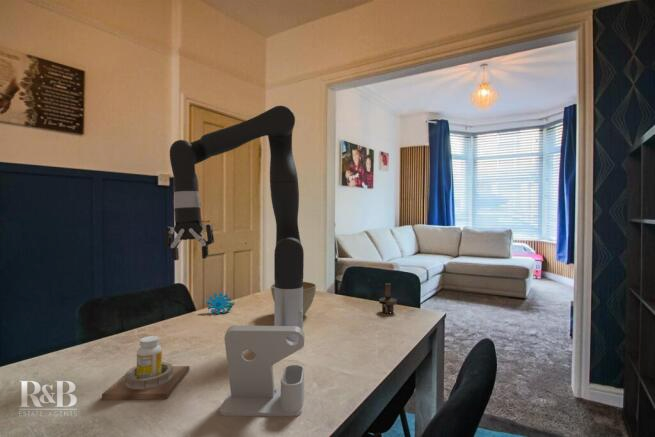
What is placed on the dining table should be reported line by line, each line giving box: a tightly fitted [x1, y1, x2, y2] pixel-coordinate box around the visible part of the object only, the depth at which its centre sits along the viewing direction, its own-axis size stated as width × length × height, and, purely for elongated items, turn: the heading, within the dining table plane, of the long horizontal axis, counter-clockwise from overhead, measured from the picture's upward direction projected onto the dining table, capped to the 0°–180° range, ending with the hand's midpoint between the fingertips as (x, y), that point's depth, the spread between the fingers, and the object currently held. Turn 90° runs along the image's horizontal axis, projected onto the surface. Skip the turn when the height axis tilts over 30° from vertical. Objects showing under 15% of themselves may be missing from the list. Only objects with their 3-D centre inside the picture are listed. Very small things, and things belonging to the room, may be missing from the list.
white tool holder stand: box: [219, 325, 306, 417], centre depth 76 cm, size 17×10×18 cm, turn 90°
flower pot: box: [270, 281, 317, 316], centre depth 142 cm, size 18×18×12 cm
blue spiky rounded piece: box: [206, 291, 235, 316], centre depth 147 cm, size 11×6×10 cm
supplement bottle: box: [136, 335, 163, 378], centre depth 84 cm, size 5×5×10 cm
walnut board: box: [101, 361, 190, 401], centre depth 84 cm, size 14×14×3 cm
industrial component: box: [378, 282, 398, 314], centre depth 147 cm, size 9×7×12 cm
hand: (190, 259), depth 108 cm, fingers open, 8 cm apart
